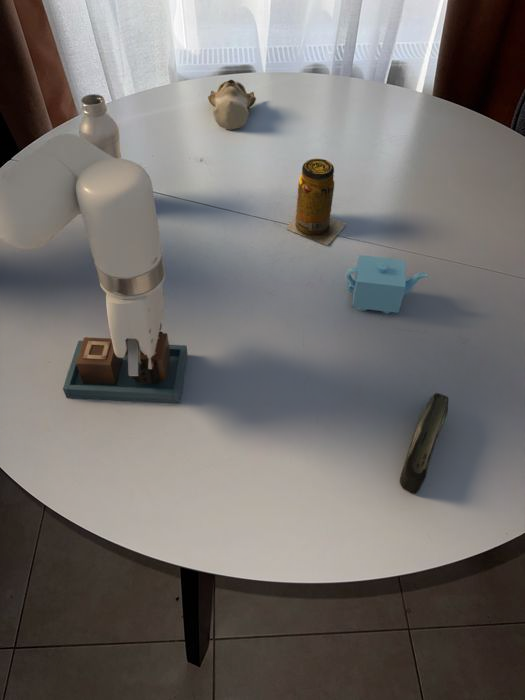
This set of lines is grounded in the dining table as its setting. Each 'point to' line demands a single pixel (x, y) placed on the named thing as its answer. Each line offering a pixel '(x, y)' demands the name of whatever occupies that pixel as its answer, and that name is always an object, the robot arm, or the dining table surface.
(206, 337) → the dining table surface
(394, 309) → the teapot
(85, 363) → the tile
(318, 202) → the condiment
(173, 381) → the tray
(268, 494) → the dining table surface
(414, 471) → the dark grey rounded bar
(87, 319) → the dining table surface
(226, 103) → the ceramic sculpture
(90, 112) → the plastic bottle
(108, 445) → the dining table surface
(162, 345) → the tile
